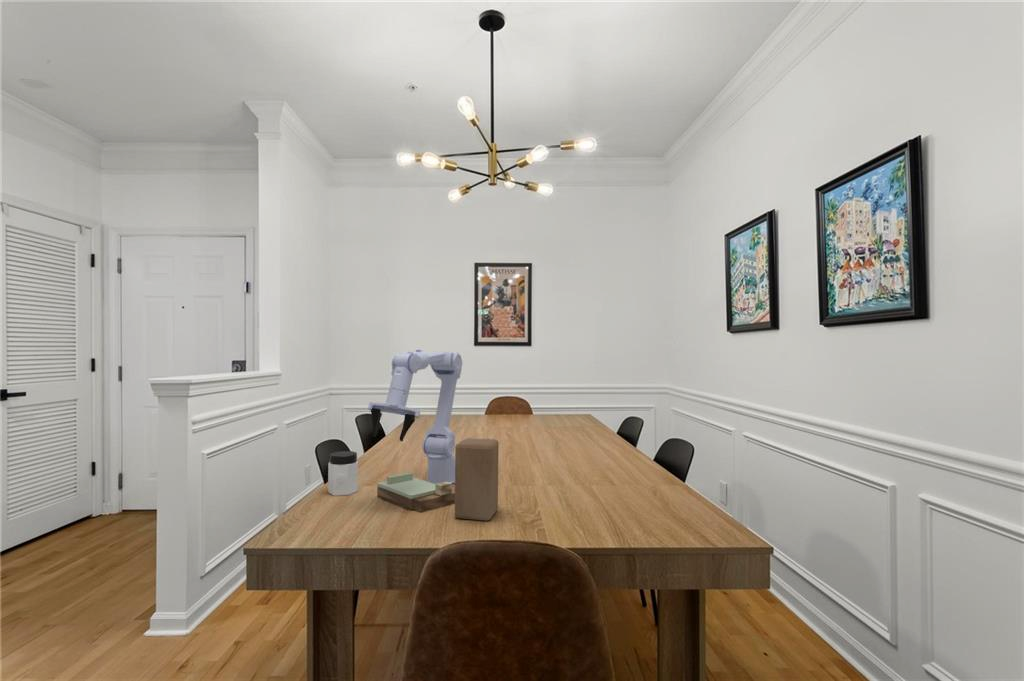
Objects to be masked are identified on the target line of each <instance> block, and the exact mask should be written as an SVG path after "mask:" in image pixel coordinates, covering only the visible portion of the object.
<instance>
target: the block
mask: <svg viewBox="0 0 1024 681" xmlns="http://www.w3.org/2000/svg"><path fill="white" fill-rule="evenodd" d="M499 444H500V443H499V441H498V440H497V439H495V438H494V439H493V438H492V439H490V438H489V439H488V438H474V437H472V438H471V437H470V438H469V437H467V438H464V439H462V440H461V441H458V443H455V450H454V452H455V453H454V454H455V455H454V457H455V483H454V489H455V503H454V516H455V517H454V518H456V519H461V520H462V519H463V520H476V521H491V519H492V518H493V516H494V515H495V514H496V513H497V511H498V508H499Z"/></svg>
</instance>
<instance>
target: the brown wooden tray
mask: <svg viewBox="0 0 1024 681" xmlns="http://www.w3.org/2000/svg"><path fill="white" fill-rule="evenodd" d="M376 489H377V491H376V492H377V493H376V494H377V495H376V496H377V498H379V499H381V500H384V501H386V502H389V503H390V504H391V503H392V505H396V506H398V507H401V508H404V509H406V510H409V511H416V512H418V513H423V512H427V511H430V510H431V511H432V510H435V509H438V508H442V507H446V506H447V507H448V506H449V505H453V504H454V505H455V488H454V489H452V493H450V494H446V495H442V496H440V495H437V494H431V495H427V496H423V497H418V498H414V499H410V498H407V497H404V496H402V495H399V494H396V493H394V492H391V491H388V490H386V489H383V488H380V487H378V486H377V488H376Z"/></svg>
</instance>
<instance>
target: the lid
mask: <svg viewBox="0 0 1024 681" xmlns="http://www.w3.org/2000/svg"><path fill="white" fill-rule="evenodd" d="M377 487H380V488H383V489H386V490H388V491H391V492H394V493H396V494H399V495H402V496H404V497H407V498H410V499H414V498H418V497H423V496H427V495H431V494H435V484H433V483H430V482H427V481H425V480H424V479H420V478H417V477H415V476H414V473H413V472H410V471H409V472H404V473H399V474H393V475H387V476H386V481H382V482H381V481H380V482H377Z"/></svg>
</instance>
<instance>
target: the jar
mask: <svg viewBox="0 0 1024 681" xmlns="http://www.w3.org/2000/svg"><path fill="white" fill-rule="evenodd" d="M327 468H328V469H327V470H328V471H327V472H328V473H327V476H328V477H327V484H328V485H327V492H328V493H329V494H330V495H332V496H339V497H340V496H349V495H352V494H354V493H355V494H356V493H357V492H358V491H359V490H358V489H359V488H358V487H359V482H358V481H359V461H358V453H357V452H356V451H353V450H352V451H351V450H348V451H347V450H343V451H342V450H341V451H335V452H332V453H330V454H329V462H328V467H327Z"/></svg>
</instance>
